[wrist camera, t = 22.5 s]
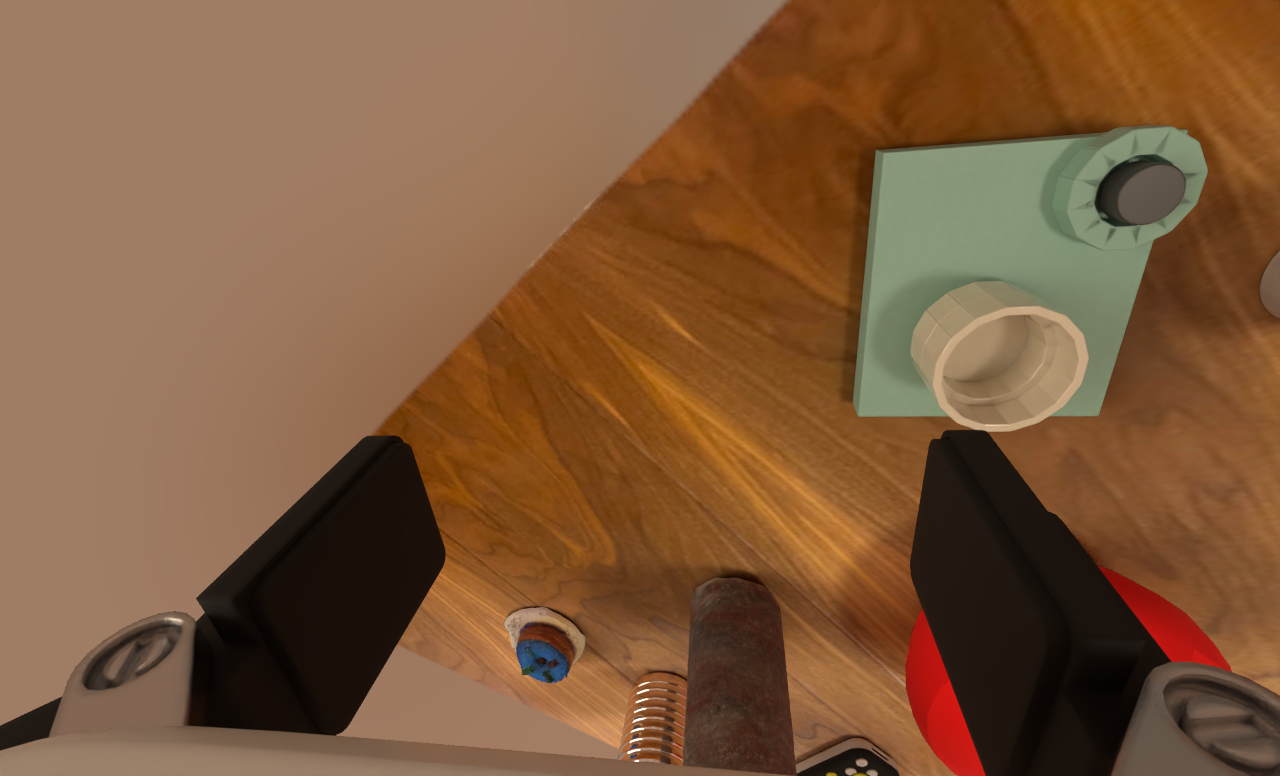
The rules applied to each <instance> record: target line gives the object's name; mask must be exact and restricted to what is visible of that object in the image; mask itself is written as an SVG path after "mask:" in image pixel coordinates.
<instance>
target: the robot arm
mask: <svg viewBox="0 0 1280 776" xmlns="http://www.w3.org/2000/svg"><path fill="white" fill-rule="evenodd" d="M444 562H445V547H444V544H443V541H442V538H441V535H440V532H439V529H438V526H437V523H436V520H435V517H434V514H433V511H432V508H431V505H430V502H429V499H428V496H427V493H426V490H425V487H424V484H423V481H422V478H421V475H420V472H419V469H418V466H417V463H416V460H415V457H414V454H413V451H412V449H411V447H410V446H409V444H407V443H404V442H403V440H402V439H401V438H400V437H398V436H366V437H365V438H363V439H362V440H361V441H360V442H359V443H358V444H357V445H356V446H355V447H353V448H352V449H351V450H350V451H349V452H348V453H347V454H346V455H345V456H344V457H343V458H342V459H341V460H340V461H339V462H338V463H337V464H336V465H335V466H334V467H333V468H332V469H331V470H330V471H329V472H327V473H326V474H325V475H324V476H323V477H322V478H321V479H320V480H319V481H318V482H317V483H316V484H315V485H314V486H313V487H312V488H311V489H310V490H309V491H308V492H307V493H306V494H304V495H303V496H302V497H301V498H300V499H299V500H298V501H297V502H296V503H295V504H294V505H293V506H292V507H291V508H290V509H289V510H288V511H287V512H286V513H285V514H284V515H283V516H282V517H280V518H279V519H278V520H277V521H276V522H275V523H274V524H273V525H272V526H271V527H270V528H269V529H268V530H267V531H266V532H265V533H264V534H263V535H262V536H261V537H260V538H259V539H258V540H256V541H255V542H254V544H252V545H251V546H250V547H249V548H248V549H247V550H246V551H245V552H244V553H243V554H242V555H241V556H240V557H239V558H238V559H237V560H236V561H235V562H233V563H232V564H231V565H230V566H229V567H228V568H227V569H226V570H225V571H224V572H223V573H222V574H221V575H220V576H219V577H218V578H217V579H216V580H215V581H214V582H213V583H212V584H211V585H209V586H208V587H207V588H206V589H205V590H204V591H203V592H202V593H201V594H200V595H199V596H198V597H197V598H196V599H197V601H198V602H199V604H200V605H201V607H202V608H203V610H204V611H205V613H204V614H203V616H201V617H200V618H199V619H198V620H197V621H196V622H195V620H194V618H192V617H191V616H190V615H188V614H187V613H183V612H176V611H174V612H166V613H159V614H156V615H153V616H150V617H147V618H144V619H141V620H139V621H137V622H135V623H133V624H131V625H129V626H126V627H125V628H123V629H121V630H119V631H118V632H116V633H115V634H113V635H111V636H110V637H108V638H107V639H105V640H104V641H102V642H101V643H100V644H99V645H98V646H96V647H95V648H94V649H93V650H91V651H90V652H89V653H88V654H87V655H86V656H85V657H84V658H83V659H82V661H81V662H80V663H79V664H78V665H77V666H76V667H75V669H74V671H73V673H72V674H71V676H70V678H69V680H68V682H67V685H66V688H65V691H64V694H63V696H62V697H60V698H58V699H56V700H54V701H52V702H50V703H48V704H45V705H43V706H41V707H39V708H37V709H35V710H33V711H30V712H28V713H26V714H24V715H22V716H20V717H18V718H16V719H14V720H12V721H9V722H7V723H5V724H3V725H1V726H0V776H790V775H779V774H768V773H757V772H747V771H736V770H725V769H714V768H704V767H693V766H682V765H671V764H660V763H649V762H638V761H627V760H615V759H603V758H593V757H581V756H570V755H558V754H547V753H535V752H524V751H512V750H500V749H489V748H476V747H466V746H454V745H443V744H430V743H417V742H405V741H393V740H381V739H380V740H379V739H368V738H356V737H343V736H336V735H337V734H339V733H342V732H343V731H344V730H345V729H346V728H347V727H348V725H349V724H350V722H351V721H352V719H353V717H354V716H355V714H356V712H357V711H358V709H359V707H360V706H361V704H362V702H363V700H364V699H365V697H366V695H367V693H368V692H369V690H370V689H371V687H372V685H373V684H374V682H375V680H376V679H377V677H378V675H379V674H380V672H381V670H382V668H383V667H384V665H385V664H386V662H387V660H388V658H389V657H390V655H391V653H392V651H393V650H394V648H395V647H396V645H397V643H398V642H399V640H400V638H401V637H402V635H403V633H404V632H405V630H406V628H407V627H408V625H409V623H410V622H411V620H412V618H413V616H414V615H415V613H416V611H417V610H418V608H419V606H420V605H421V603H422V601H423V600H424V598H425V596H426V595H427V593H428V591H429V590H430V588H431V586H432V585H433V583H434V581H435V580H436V578H437V576H438V574H439V573H440V571H441V569H442V567H443V565H444ZM910 570H911V577H912V581H913V584H914V587H915V590H916V592H917V595H918V598H919V600H920V603H921V606H922V608H923V611H924V614H925V616H926V619H927V621H928V624H929V627H930V629H931V632H932V635H933V637H934V640H935V643H936V645H937V648H938V651H939V653H940V656H941V659H942V661H943V664H944V667H945V669H946V672H947V675H948V677H949V680H950V682H951V685H952V688H953V690H954V693H955V696H956V698H957V701H958V704H959V706H960V709H961V712H962V714H963V717H964V720H965V722H966V725H967V728H968V730H969V733H970V735H971V738H972V741H973V743H974V746H975V749H976V751H977V754H978V757H979V759H980V762H981V765H982V767H983V770H984V773H985V775H986V776H1280V696H1279V695H1277V694H1276V693H1274V692H1272V691H1271V690H1269V689H1267V688H1265V687H1263V686H1261V685H1259V684H1257V683H1256V682H1254V681H1252V680H1250V679H1248V678H1246V677H1243V676H1241V675H1238V674H1235V673H1233V672H1230V671H1227V670H1225V669H1222V668H1219V667H1216V666H1211V665H1206V664H1201V663H1196V662H1172V661H1171V660H1170V659H1169V658H1168V656H1167V655H1166V654H1165V652H1164V651H1163V650H1162V649H1161V647H1160V646H1159V645H1158V643H1157V642H1156V641H1155V640H1154V638H1153V637H1152V636H1151V634H1150V633H1149V632H1148V631H1147V629H1146V628H1145V627H1144V625H1143V624H1142V623H1141V622H1140V620H1139V619H1138V618H1137V616H1136V615H1135V614H1134V613H1133V611H1132V610H1131V609H1130V607H1129V606H1128V605H1127V604H1126V602H1125V601H1124V600H1123V598H1122V597H1121V596H1120V595H1119V593H1118V592H1117V591H1116V589H1115V588H1114V587H1113V586H1112V584H1111V583H1110V582H1109V580H1108V579H1107V578H1106V577H1105V575H1104V574H1103V573H1102V571H1101V570H1100V569H1099V568H1098V566H1097V565H1096V564H1095V562H1094V561H1093V560H1092V559H1091V557H1090V556H1089V555H1088V553H1087V552H1086V551H1085V550H1084V548H1083V547H1082V546H1081V544H1080V543H1079V542H1078V541H1077V539H1076V538H1075V537H1074V535H1073V534H1072V533H1071V532H1070V530H1069V529H1068V528H1067V526H1066V525H1065V524H1064V523H1063V521H1062V520H1061V519H1060V518H1059V517H1058V516H1057V515H1056V514H1053V513H1051V512H1048V511H1047V510H1046V509H1045V507H1044V506H1043V505H1042V503H1041V502H1040V501H1039V499H1038V498H1037V497H1036V495H1035V494H1034V493H1033V491H1032V490H1031V489H1030V488H1029V486H1028V485H1027V484H1026V482H1025V481H1024V480H1023V478H1022V477H1021V476H1020V474H1019V473H1018V472H1017V470H1016V469H1015V468H1014V466H1013V465H1012V464H1011V463H1010V461H1009V460H1008V459H1007V457H1006V456H1005V455H1004V453H1003V452H1002V451H1001V449H1000V448H999V447H998V445H997V444H996V443H995V442H994V440H993V439H992V438H991V436H990V435H989V434H988V433H987V432H986V431H984V430H946V431H945V432H943V434H942V436H941V439H933V440H931V442H930V445H929V449H928V455H927V461H926V468H925V474H924V480H923V486H922V492H921V498H920V504H919V511H918V517H917V523H916V529H915V535H914V541H913V547H912V554H911V561H910Z"/></svg>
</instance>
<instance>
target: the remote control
mask: <svg viewBox="0 0 1280 776" xmlns="http://www.w3.org/2000/svg"><path fill="white" fill-rule="evenodd" d="M796 772H797V776H899V772H898V768H897V765H896V763H895V761H894V760H893V759H892V758H890V757H889V756H888V755H886V754H885V753H884V752H882V751H881V750H879V749H878V748H877V747H875V746H874V745H873V744H871V743H870V742H868V741H867V740H864V739H862V738H851V739H848V740H846V741H844V742H842V743H840V744H837V745H835V746H833V747H831V748H829V749H827V750H825V751H823V752H820V753H818V754H816V755H814V756H812V757H810V758H808V759H806V760H804V761H801V762H799V763H797V764H796Z"/></svg>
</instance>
